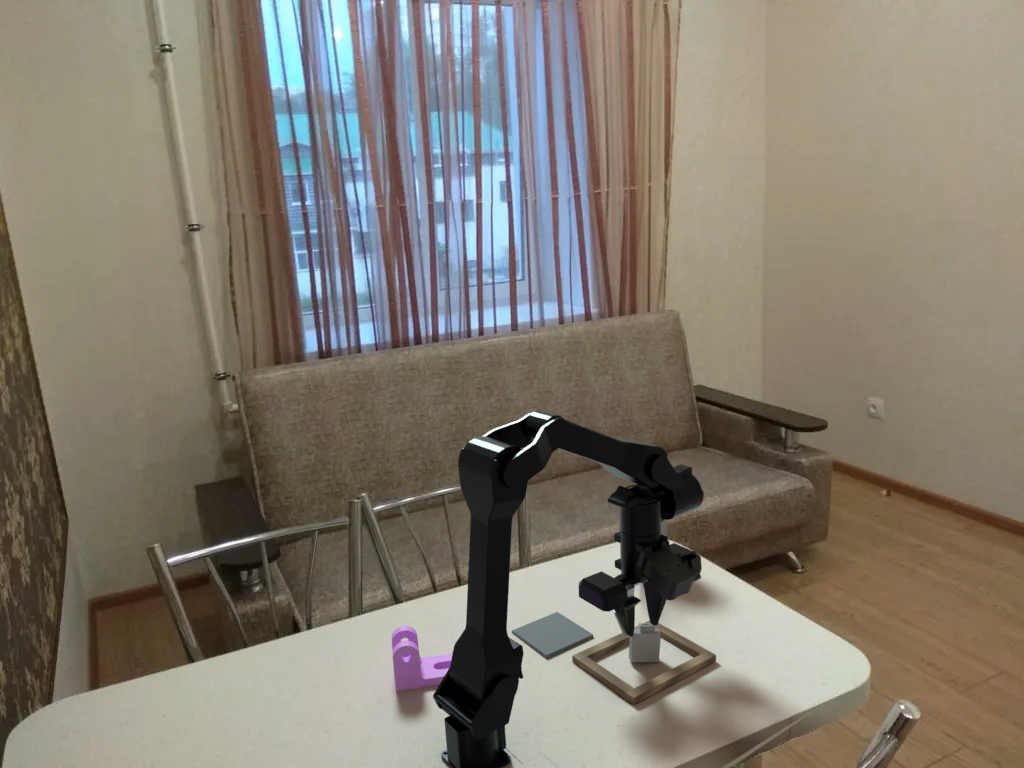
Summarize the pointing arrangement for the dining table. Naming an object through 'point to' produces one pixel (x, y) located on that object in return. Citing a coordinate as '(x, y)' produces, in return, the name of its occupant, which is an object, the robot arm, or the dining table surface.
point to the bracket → (415, 662)
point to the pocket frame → (653, 685)
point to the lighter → (643, 642)
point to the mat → (552, 634)
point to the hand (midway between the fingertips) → (642, 629)
